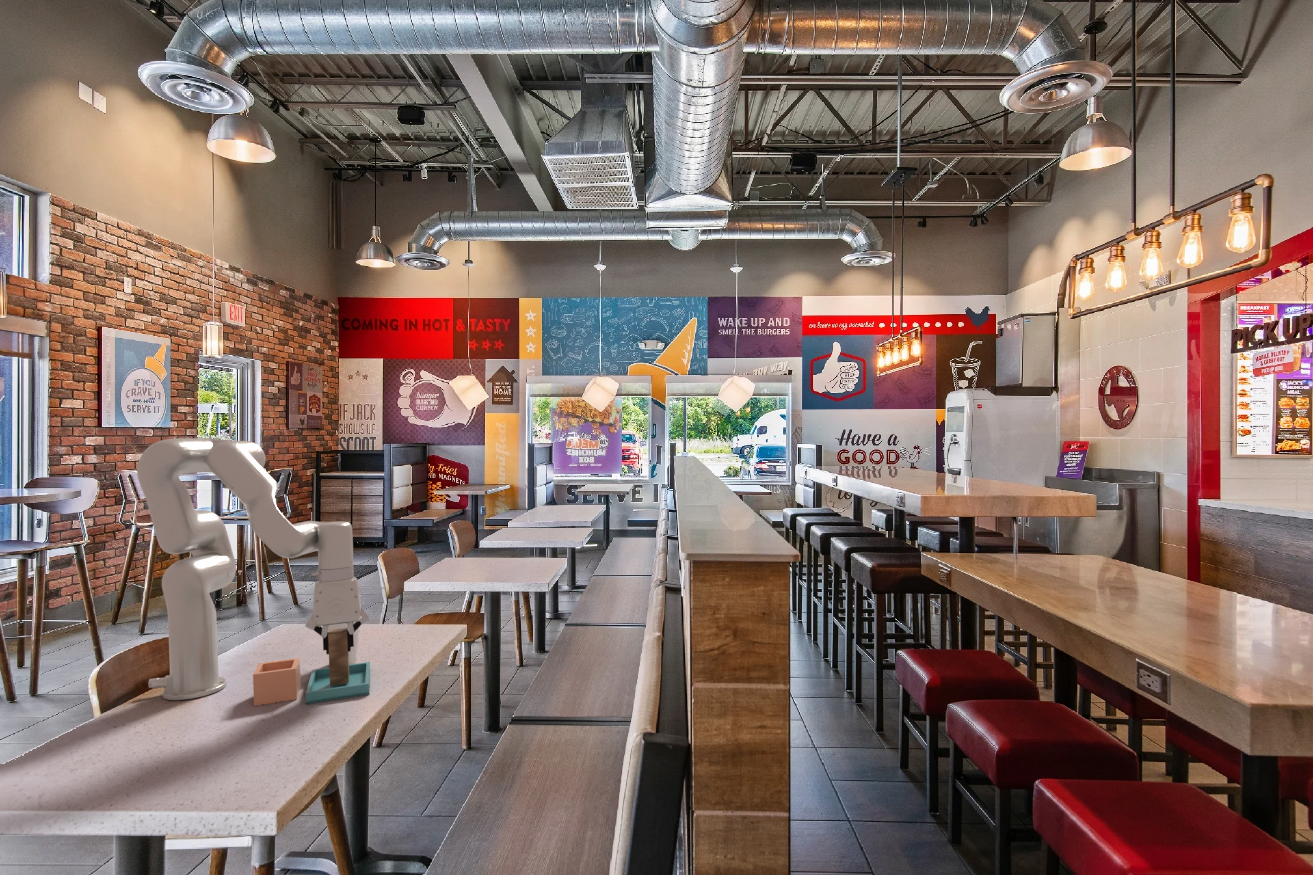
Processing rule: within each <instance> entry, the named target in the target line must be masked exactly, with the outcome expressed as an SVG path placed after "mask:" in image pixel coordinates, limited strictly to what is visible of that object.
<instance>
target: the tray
mask: <svg viewBox="0 0 1313 875" xmlns="http://www.w3.org/2000/svg"><path fill="white" fill-rule="evenodd" d="M370 684H371V662H370V661H366V662H365V661H364V662H358V663H357V662H356V663H355V664H350V665H349V683H344V684H337V685H331V686H330V674H329V667H323V668H316V669H312V670H311V674H310V677H309V681H308V684H307V688H306V691H305V704H306V705H309V704H310V705H311V704H317V703H323V702H329V701H336V700H342V699H343V700H344V699H348V698H349V699H350V698H355V697H364V696H369V695H370V688H371V687H370V686H371V685H370Z"/></svg>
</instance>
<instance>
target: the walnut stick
mask: <svg viewBox="0 0 1313 875" xmlns="http://www.w3.org/2000/svg"><path fill="white" fill-rule="evenodd" d="M347 634H348V628H342V629H333V630H329V633H328V642H329V654H328V665H329V666H328V668H329V674H330V686H331V685H337V684H344V683H349V652H348V643H347Z"/></svg>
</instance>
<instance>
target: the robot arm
mask: <svg viewBox="0 0 1313 875" xmlns="http://www.w3.org/2000/svg"><path fill="white" fill-rule="evenodd" d="M266 459H267V457H266V454H265V452H264V450H263V449H262V447H260V445H258V444H257V443H255V442H252V441H251V440H250V441H249V440H231V439H230V440H229V439H218V438H216V439H215V438H201V437H200V438H199V437H198V438H192V437H191V438H186V437H185V438H183V437H182V438H178V437H177V438H167V439H162V440H159V441H157V442H153V443H152V444H151V445H150V446H148V447H147V448H146V449H145V450H144V451H143V452H142V454H141V455H140V457H139V459H138V462H137V466H136V467H137V468H136V471H137V472H136V473H137V474H136V476H137V479H138V482H139V485H140V488H141V490H142V492H143V496H144V497H145V500H146V504H147V507H148V512H149V515H150V519H151V523H152V526H153V530H154V532H155V536H156V541H157V542H158V545H159V547H160V550H162V551H163V552H164V553H167V554H171V555H179V554H185V553H191V555H192V556H190V557H186V558H182V559H180V560H177V561H176V562H174V563H172V564H171V565H170V566H168V567H167V569H166V570H165V571H164V573H163V575H162V578H161V589H162V593H163V597H164V601H165V604H166V610H167V627H168V628H167V629H168V649H169V650H168V652H169V653H168V654H169V656H168V657H169V675H165V676H164V677H154V678H149V679H148V688H149V689H150V688H151V689H152V690H154V689H156V690H157V689H159V688H163V691H162V692H161V693H162V699H165V700H169V701H183V700H192V699H197V698H201V697H206V696H208V695H212V694H215V693H217V692H219V691H221V690H223V689H224V688H225V687H226V685H227V679H226V678H224V677H221V676H219V656H218V654H219V653H218V652H219V651H218V626H217V625H218V622H217V610H216V606H215V604H214V601H213V599H212V597H211V595H210V593H213V592H215V591H218V590H221V589H223V588H225V587H227V586H228V585H229V584H231V583H232V582H233V580H234V579H235V575H236V573H237V572H236V571H237V565H236V559H235V555H234V552H233V549H232V546H231V543H230V539H229V534H228V531H227V528H226V526H225V523H224V521H223V520H222V518H221V517H220V516H219V515H218V514H216V513H215V512H213V511H210V510H205V509H199V510H198V509H197V510H195V507H194V505H193V502H192V497H191V494H190V491H189V489H188V487H186V484H184V482H183V481H181V479H180V476H181V475H187V474H199V473H211V474H214V475H215V477H217V478H218V479H219V481H221V483H223V485H224V486H225V487H226V488H227V489H228V490H229V491H230V492H231V493H232V494H233V495H234V496H235V497H236V498H237V499H238V501H240V502H241V504H243V506H245V507H244V508H245V510H246V515H247V518H248V522H249V524H250V527H251V529H252V530H253V532H254V533H255V535H256V536H257V537H258V538H259V539H260V541H262V543H263V544H264V545H265V546H266V547H267V548H268V549H269V550H271V551H272V552H273V553H274V554H275V555H277V556H279V557H280V558H284V559H294V558H299V557H301V556H302V555H307V554H310V553H313V552H317V556H318V557H317V558H318V562H317V563H318V569H316V570H313V571H311V577H312V578H317V581H316V582H315V584H314V590H313V602H312V603H313V604H312V606H313V608H312V609H313V610H312V613H311V615H310V616H309V618H308V620H307V621H306V622H305V626H304V627H306V628H307V629H310V630H311V631H314V632H315V633H316V634H318V635H319V636H320V637H321V638H322V645H323V646H322V649H323V650H322V651H325V652H326V654H325V655H329V642H328V633H329V632H328V627H329V625H334V624H342V623H347V627H348V634H347V643H348V652H350V650H351V647H354V637H353V634H354V632H355V631H356V630H357V629H358V628H359V627H360V626H362V625H364V624H365V623H366V622H368V621H369V620H370V616H369V615H368V612H366V611H365V609H364V608H363V607H362V604H361V594H360V586H359V581H358V578H357V577H355V573H354V572H355V571H354V567H355V566H354V542H353V540H354V539H353V525H352V524H351V523H350V522H348V521H330V522H329V521H328V522H324V521H323V522H322V521H317V520H316V521H315V520H307V521H301V522H296V523H292V522H290V521H289V520H288V519H287V517H285V516H284V514H283V513H282V512H281V511H280V509H279V508H278V507H277V503H276V500H275V498H276V497H275V496H276V493H278V491H279V484H278V482H277V481H276V480H275V479H274V477H273V476H271V474H270V473H269V472H268V471H267V470H266V469H265V468H264V467H265V464H266ZM360 616H361V618H360ZM355 621H356V622H355ZM353 622H355V623H353Z"/></svg>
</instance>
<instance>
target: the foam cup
mask: <svg viewBox="0 0 1313 875" xmlns="http://www.w3.org/2000/svg"><path fill="white" fill-rule="evenodd" d="M360 618H361V616H360ZM355 622H356V621H355ZM355 622H353V623H355ZM361 626H362V625H361ZM361 626H360V627H359V628H358V629H357V630H356V631H355V632H354V634H353V637H354V647H351V650H350V652H349V665H350V664H354V663H355V662H356V663H357V662H358V656H359V646H360V635H361ZM342 628H348V627H347V623H342V624H334V625H329V627H328V632H329V630H333V629H342ZM356 663H355V664H356Z"/></svg>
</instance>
